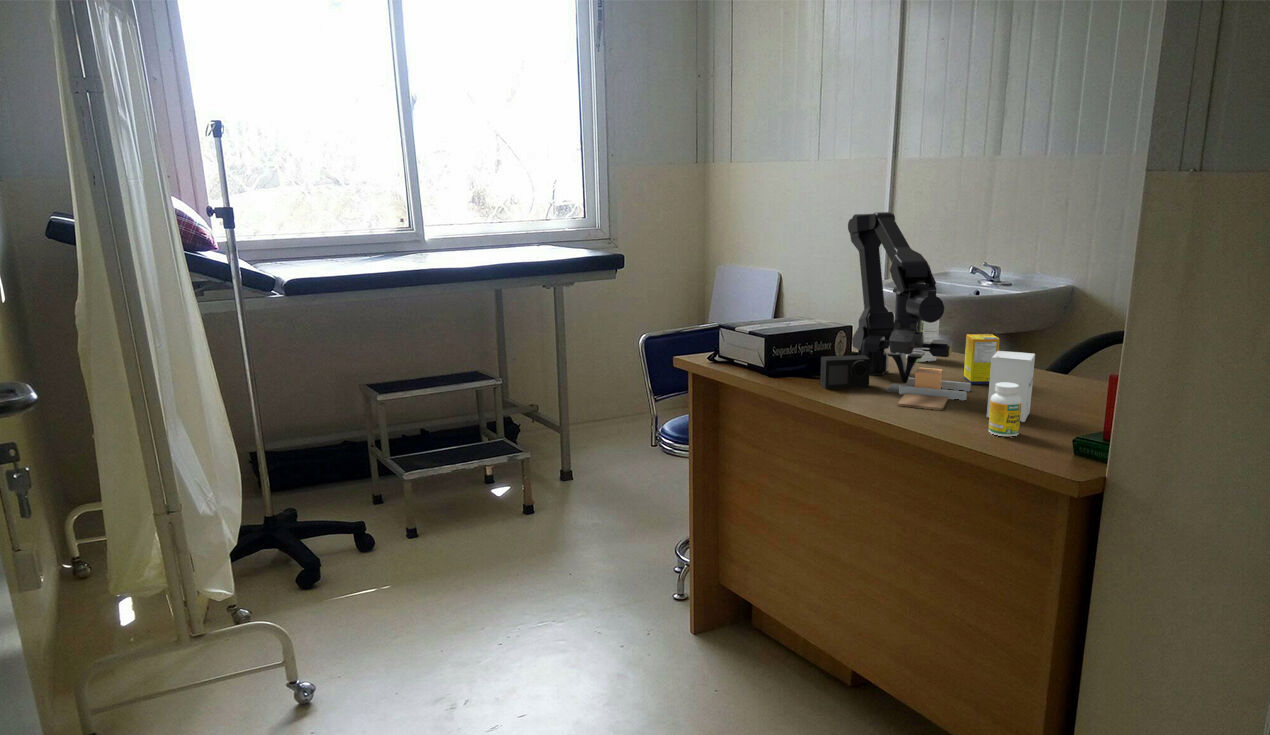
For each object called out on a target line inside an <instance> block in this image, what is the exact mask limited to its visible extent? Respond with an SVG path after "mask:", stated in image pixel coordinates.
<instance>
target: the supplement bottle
mask: <svg viewBox="0 0 1270 735" xmlns="http://www.w3.org/2000/svg"><path fill="white" fill-rule="evenodd" d="M995 391H996V392H997V393H995V394H993V395H992V397H991V401H990V416H989V418H988V419H989V420H988V433H989V432H990V433H991V434H990V433H989V434H990V435H992V434H994V435H998V436H1016V437H1018V436H1019V433H1020V425H1021V422H1020V417H1021V405H1022V399H1021V397H1020V396H1018V395H1017V393H1018V392H1019V385H1018V384H1015V383H1008V382H1000V383H996V386H995ZM994 435H993V436H994ZM1017 435H1018V436H1017ZM998 436H997V437H998Z"/></svg>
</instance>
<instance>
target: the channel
mask: <svg viewBox="0 0 1270 735" xmlns="http://www.w3.org/2000/svg"><path fill="white" fill-rule="evenodd" d="M905 385H914V387H911V386H899V393H898V395H903V394H905V393H908V394H919V395H929V396H939V397H948V400H954V399H959V400H958V401H964V400H966V401H967V393H968V392H971V389H972V387H971V386H972V384H971V383H968V382H967V381H966V382H964V381H953V380H943V379H942V384H941V388H942V389H932V388H921V387H915V377H909V379H908V381H907V383H905ZM948 389H954V390H948ZM959 390H964V391H959Z"/></svg>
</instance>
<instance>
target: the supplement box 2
mask: <svg viewBox="0 0 1270 735" xmlns="http://www.w3.org/2000/svg"><path fill="white" fill-rule="evenodd" d="M1035 359H1036V353H1033V352H1032V353H1030V352H1019V351H1004V350H999V351H997V352H996V353H995V354H994V356H993V357H992V359H991V371H990V383H989V384H988V386H989V387H988V394H987V395H988V398H987V408H986V409H987V410H986V418H988V419H989V416H990V401H991V397H992V395H993V394H995V393H997V392H996V391H995V386H996V383H1000V382H1008V383H1015V384H1018V385H1019V392H1018V393H1017V395H1018V396H1020V397H1021V399H1022V405H1021V417H1020V421H1021V422H1020V423H1025V422H1026V420H1027V418H1028V416H1029V415H1030V412H1031V402H1032V400H1031V399H1032V395H1033V394H1032V393H1033V381H1034V371H1035V361H1036V360H1035Z"/></svg>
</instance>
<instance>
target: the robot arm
mask: <svg viewBox="0 0 1270 735" xmlns="http://www.w3.org/2000/svg"><path fill="white" fill-rule="evenodd" d="M895 216H896V215H895V214H894V213H892V212H891V211H885V212H884V211H882V212H881V211H880V212H874V213H859V214H858V213H856V214H854V215H852V217H851V218H850V219H849V220H848V223H847V230H848V233H849V235H850V242H851V243H852V245H853V246H854V247H855V248H856V250H857V251H858V256H859V267H860V276H861V278H860V279H861V287H862V299H863V311H862V313H861V315H860V317H859V318H858V328H857V329H856V331H855V332H854V334H853V336H852V337H851V342H852V347H853V348H855V349H857V350H858V352H857V355H865V356H866V357H868V358H869V359H870V374H869V375H874V376H883V375H884V374H885V373H886V372H887V371H888V369H889V357H891V358H892V359H893V360H894V362H895V364H896V366H897V368H898V372H899V377H900V379H901V382H902V384H906V383H907V381H908V379H909V378H910V376H911V374H912V371H913V369H914V366H915V365H916V361H917V359H921V358H922V357H923V356H924V355H925V352H924V351H929V352H930V353H931V354H932V356H936V357H937V358H938V357H940V358H948V357H950V356H951V354H952V353H953V352H952V351H953V343H952V341H951V340H946V339H938V340H933V341H932V342H931V343H923V342H924V336H923V332H921V320H922V321H925V322H929V323H932V322H936V321H937V320H939V321H940V319H941V318H942V317H943V315H944V313H945V305H944V302H943V300H942V299H941V298H940V297H938V296H937V287H936V284H937V281H936V280H935V277H934V275H933V273H932V269H931V265H930V264H929V262H928V261H927V260H926V259H925V257H924V256H923V254H922V253H919V252H918V251H915V250H913V249H912V248H911V247H910V244H909V243H908V241H907V240H906V238H905V236H904V234H903V233H902V231H901V229H900V227H899V226H898V224H897V222H896V217H895ZM881 245H882V247H883V248H884V250H885V252H886V254H887V256H888V257H889V261H890V262H891V264H890V268H889V273H890V276H891V280H892V282H893V283H894V285H895V287H894V288H892V289H893V290H892V293H893V294H894V293H895V303H894V304H895V306H894V308H895V309H894V313H893V311H889V310H888V309H887V307H886V305H885V297H884V296H885V295H884V285H883V275H882V274H883V273H882V265H881V263H882V262H881V253H880V252H881V251H880V246H881ZM887 349H888V353H887ZM907 354H909V355H908V356H907Z"/></svg>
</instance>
